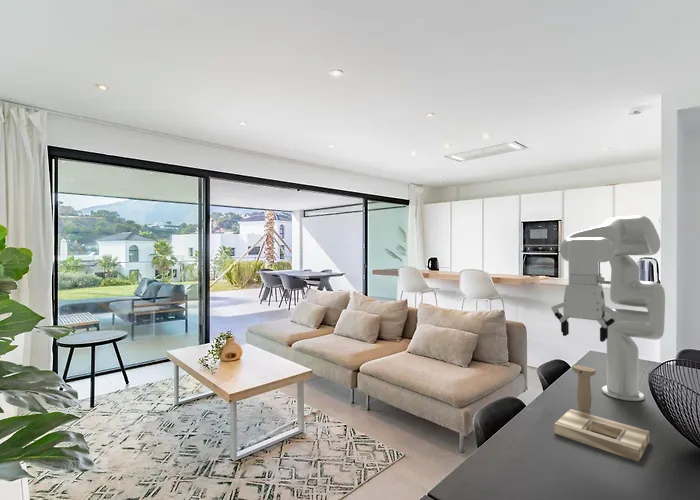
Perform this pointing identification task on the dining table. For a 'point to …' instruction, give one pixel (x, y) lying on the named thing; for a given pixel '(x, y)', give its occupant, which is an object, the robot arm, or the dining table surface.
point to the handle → (584, 387)
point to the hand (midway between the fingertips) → (583, 337)
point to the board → (582, 425)
